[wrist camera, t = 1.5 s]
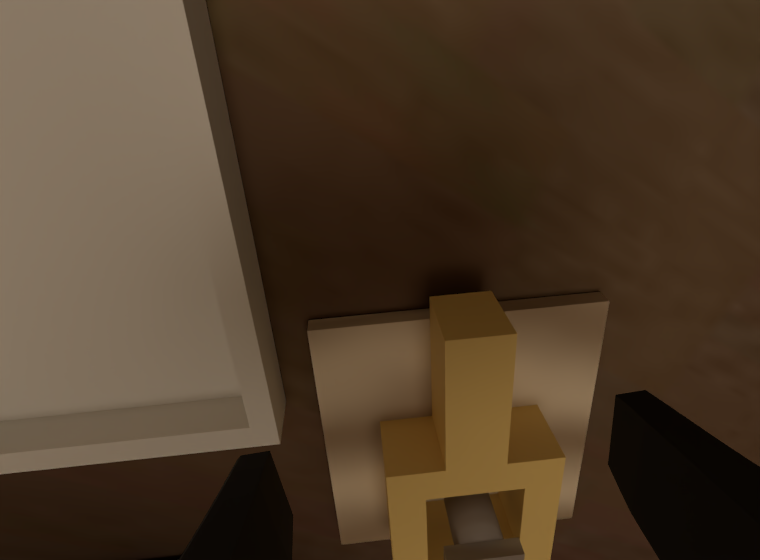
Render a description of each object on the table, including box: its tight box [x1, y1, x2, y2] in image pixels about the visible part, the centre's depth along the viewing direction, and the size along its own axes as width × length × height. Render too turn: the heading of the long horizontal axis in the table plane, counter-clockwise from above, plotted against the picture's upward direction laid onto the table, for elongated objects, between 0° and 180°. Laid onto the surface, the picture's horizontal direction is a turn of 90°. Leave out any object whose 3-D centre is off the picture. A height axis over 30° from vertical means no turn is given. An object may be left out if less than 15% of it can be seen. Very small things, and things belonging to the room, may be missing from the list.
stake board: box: [307, 292, 610, 560], centre depth 20 cm, size 13×12×6 cm
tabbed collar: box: [380, 291, 566, 560], centre depth 20 cm, size 13×7×3 cm, turn 4°
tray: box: [0, 0, 286, 474], centre depth 15 cm, size 19×13×2 cm
